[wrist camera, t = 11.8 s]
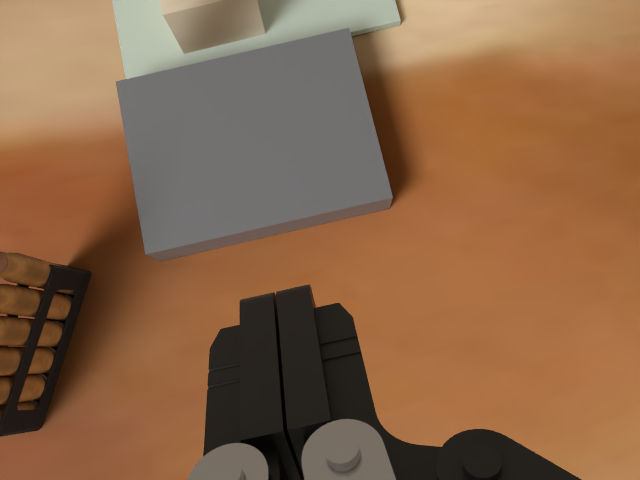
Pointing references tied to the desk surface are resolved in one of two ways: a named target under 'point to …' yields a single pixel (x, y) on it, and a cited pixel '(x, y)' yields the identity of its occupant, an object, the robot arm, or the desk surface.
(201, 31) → the birch block
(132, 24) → the mat
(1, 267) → the ammunition clip
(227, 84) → the plate
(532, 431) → the desk surface
